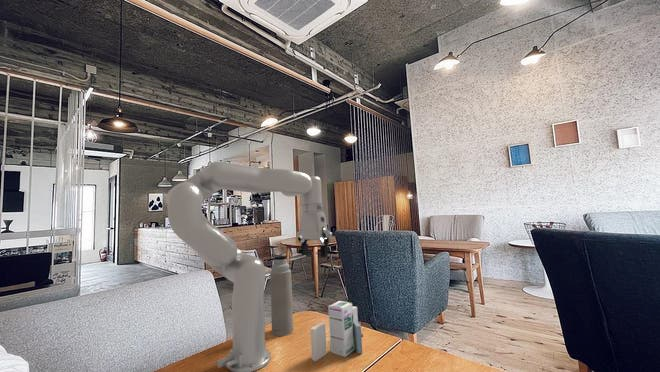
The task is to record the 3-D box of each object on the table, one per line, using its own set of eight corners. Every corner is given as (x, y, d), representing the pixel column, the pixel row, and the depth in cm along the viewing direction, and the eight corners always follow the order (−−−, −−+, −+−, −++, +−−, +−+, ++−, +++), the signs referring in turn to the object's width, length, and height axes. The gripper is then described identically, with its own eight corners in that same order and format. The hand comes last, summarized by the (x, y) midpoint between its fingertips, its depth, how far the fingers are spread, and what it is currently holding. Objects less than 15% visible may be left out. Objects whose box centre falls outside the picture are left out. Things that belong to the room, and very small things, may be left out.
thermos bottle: (267, 333, 102) (265, 257, 105) (282, 325, 109) (280, 254, 112) (282, 338, 98) (279, 258, 101) (297, 329, 104) (294, 255, 107)
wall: (315, 361, 81) (314, 329, 82) (311, 359, 82) (310, 328, 83) (358, 332, 99) (357, 306, 100) (354, 331, 100) (353, 306, 101)
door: (365, 352, 84) (363, 322, 85) (358, 353, 84) (356, 323, 85) (354, 334, 97) (353, 308, 98) (348, 335, 97) (346, 309, 98)
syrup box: (345, 357, 82) (343, 308, 84) (330, 352, 86) (327, 304, 87) (355, 349, 87) (353, 302, 88) (340, 345, 90) (338, 299, 92)
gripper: (336, 207, 100) (339, 255, 98) (303, 210, 111) (304, 253, 109) (323, 208, 94) (325, 258, 92) (289, 210, 105) (291, 255, 103)
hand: (314, 255), depth 101 cm, fingers open, 9 cm apart
